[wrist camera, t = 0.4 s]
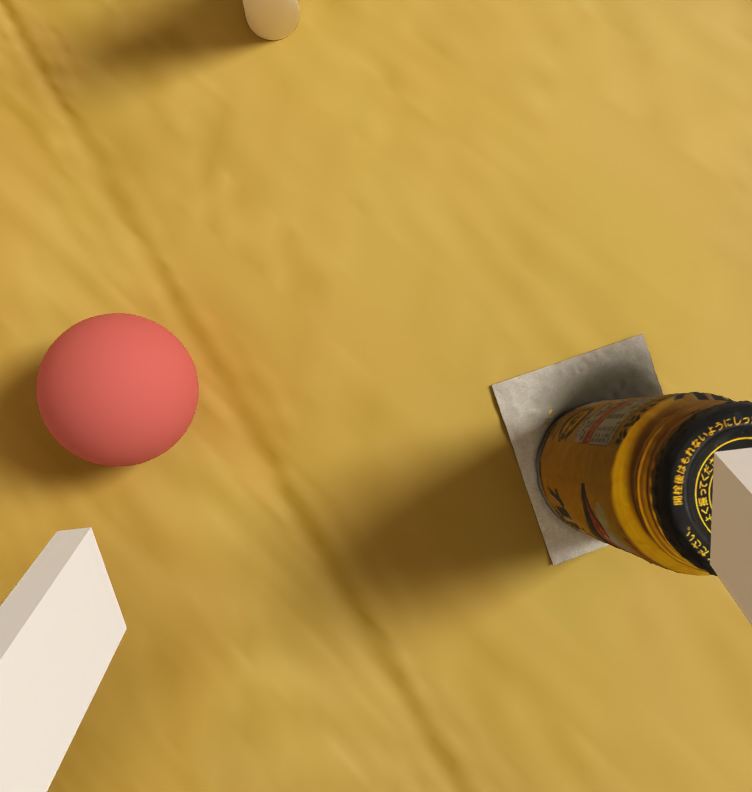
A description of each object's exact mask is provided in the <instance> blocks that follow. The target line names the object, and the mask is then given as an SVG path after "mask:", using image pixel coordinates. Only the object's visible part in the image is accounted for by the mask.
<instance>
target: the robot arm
mask: <svg viewBox="0 0 752 792" xmlns="http://www.w3.org/2000/svg"><path fill="white" fill-rule="evenodd" d="M710 565H711V567H712V568H713V569H714V571H715V572H716V574H717V575H718V577H719V578H720V580H721V581H722V583H723V584H724V586H725V587H726V589H727V590H728V592H729V593H730V594H731V596H732V597H733V599H734V600H735V602H736V603H737V605H738V606H739V608H740V609H741V611H742V612H743V614H744V615H745V617H746V618H747V620H748V621H749V622H750V624H751V625H752V448H744V449H736V450H728V451H719V452H714V468H713V495H712V523H711V550H710ZM126 629H127V627H126V625H125V622H124V619H123V616H122V613H121V610H120V608H119V605H118V602H117V599H116V596H115V593H114V591H113V588H112V585H111V582H110V579H109V576H108V574H107V571H106V568H105V565H104V562H103V559H102V557H101V554H100V551H99V548H98V545H97V543H96V540H95V537H94V534H93V531H92V528H91V527H89V528H81V529H72V530H64V531H57V532H56V533H55V535H54V536H53V537H52V539H51V540H50V541H49V543H48V544H47V545H46V547H45V548H44V549H43V551H42V552H41V553H40V555H39V556H38V557H37V559H36V560H35V561H34V563H33V564H32V565H31V567H30V568H29V569H28V570H27V572H26V573H25V574H24V576H23V577H22V578H21V580H20V581H19V582H18V584H17V585H16V586H15V588H14V589H13V590H12V592H11V593H10V594H9V596H8V597H7V598H6V600H5V601H4V602H3V604H2V605H1V606H0V792H47V790H48V788H49V786H50V784H51V782H52V780H53V778H54V776H55V774H56V772H57V770H58V768H59V766H60V764H61V762H62V760H63V758H64V756H65V754H66V751H67V749H68V747H69V745H70V743H71V741H72V739H73V737H74V735H75V733H76V731H77V729H78V727H79V725H80V723H81V721H82V719H83V717H84V715H85V713H86V711H87V709H88V706H89V704H90V702H91V700H92V698H93V696H94V694H95V692H96V690H97V688H98V686H99V684H100V682H101V680H102V678H103V676H104V674H105V672H106V670H107V668H108V666H109V664H110V662H111V659H112V657H113V655H114V653H115V651H116V649H117V647H118V645H119V643H120V641H121V639H122V637H123V635H124V633H125V631H126Z"/></svg>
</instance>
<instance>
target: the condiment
mask: <svg viewBox="0 0 752 792" xmlns="http://www.w3.org/2000/svg"><path fill="white" fill-rule="evenodd" d="M492 388H493V391H494V394H495V397H496V399H497V402H498V405H499V408H500V411H501V414H502V417H503V420H504V422H505V425H506V428H507V431H508V434H509V437H510V440H511V443H512V446H513V449H514V451H515V455H516V458H517V461H518V464H519V467H520V470H521V473H522V476H523V479H524V482H525V485H526V488H527V491H528V494H529V497H530V500H531V503H532V506H533V509H534V512H535V514H536V517H537V521H538V524H539V526H540V529H541V532H542V534H543V537H544V541H545V544H546V547H547V549H548V552H549V555H550V558H551V560H552V562H553V565H556V564H559V563H561V562H564V561H567V560H570V559H572V558H575V557H578V556H580V555H583V554H586V553H589V552H591V551H593V550H596V549H599V548H601V547H604V546H607V545H612V546H614V547H616V548H619V549H622V550H624V551H626V552H629V553H631V554H634V555H636V556H638V557H640V558H643V559H644V560H646V561H648V562H649V563H651V564H655V565H658V566H660V567H663V568H665V569H669V570H672V571H674V572H677V573H683V574H691V575H715V576H718V575H717V574H716V572H715V571H714V569H713V568H712V567H711V565H710V550H711V523H712V495H713V468H714V452H719V451H728V450H736V449H744V448H752V402H749V401H739V402H735V401H733V400H731V399H729V398H725V397H723V396H718V395H714V394H709V393H699V392H691V393H676V394H669V395H663V393H662V389H661V386H660V384H659V382H658V379H657V375H656V373H655V370H654V366H653V363H652V359H651V355H650V352H649V350H648V348H647V345H646V342H645V339H644V336H643V334H641V335H638V336H635V337H632V338H629V339H627V340H623V341H620V342H617V343H614V344H611V345H608V346H605V347H602V348H600V349H597V350H594V351H591V352H587V353H585V354H582V355H579V356H576V357H573V358H570V359H567V360H564V361H561V362H558V363H555V364H553V365H549V366H547V367H544V368H541V369H539V370H535V371H532V372H529V373H526V374H523V375H520V376H518V377H514V378H511V379H509V380H506V381H503V382H500V383H497V384H494V385H492ZM550 409H553V411H552V414H551V415H549V414H548V412H549V410H550ZM547 419H550V422H549V423H548V424H546V420H547Z"/></svg>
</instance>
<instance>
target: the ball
mask: <svg viewBox="0 0 752 792" xmlns="http://www.w3.org/2000/svg"><path fill="white" fill-rule="evenodd" d="M36 397H37V404H38V408H39V411H40V414H41V417H42V419H43V421H44V423H45V425H46V427H47V428H48V430H49V432H50V433H51V434H52V436H53V437H54V438H55V439H56V440H57V441H58V442H59V443H60V444H61V445H62V446H63V447H64V448H65V449H67V450H68V451H69V452H71V453H73V454H74V455H76V456H78V457H80V458H82V459H84V460H87V461H89V462H92V463H96V464H100V465H106V466H130V465H136V464H140V463H143V462H146V461H149V460H151V459H153V458H156V457H157V456H159V455H161V454H163V453H164V452H166V451H167V450H168V449H170V448H171V447H172V446H173V445H174V444H175V443H176V442H177V441H178V440H179V439H180V438H181V437H182V436H183V434H184V433H185V432H186V430H187V429H188V427H189V425H190V423H191V421H192V419H193V417H194V414H195V411H196V407H197V402H198V378H197V373H196V369H195V366H194V363H193V361H192V359H191V357H190V355H189V353H188V351H187V350H186V348H185V347H184V346H183V344H182V343H181V342H180V341H179V340H178V339H177V338H176V337H175V336H174V335H173V334H172V333H171V332H170V331H168V330H167V329H166V328H164V327H163V326H161V325H159V324H158V323H156V322H154V321H151V320H149V319H146V318H143V317H140V316H136V315H131V314H123V313H112V314H104V315H98V316H94V317H91V318H88V319H85V320H83V321H81V322H79V323H77V324H75V325H73V326H72V327H70V328H69V329H68V330H66V331H65V332H64V333H62V334H61V335H60V336H59V337H58V338H57V339H56V340H55V341H54V343H53V344H52V345H51V346H50V348H49V349H48V351H47V352H46V354H45V356H44V358H43V360H42V362H41V365H40V368H39V371H38V375H37V382H36Z"/></svg>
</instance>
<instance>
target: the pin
mask: <svg viewBox="0 0 752 792" xmlns="http://www.w3.org/2000/svg"><path fill="white" fill-rule="evenodd" d="M242 1H243V6H244V11H245V15H246V20H247V23H248V25H249V27H250V29H251V30H252V31H253V32H254V33H255V34H256V35H258V36H259V37H261V38H263V39H267V40H280V39H283V38H285V37H287V36H289V35H290V34H291V33H292V32H293V31H294V30H295V28H296V27H297V24H298V21H299V3H298V0H242Z"/></svg>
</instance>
